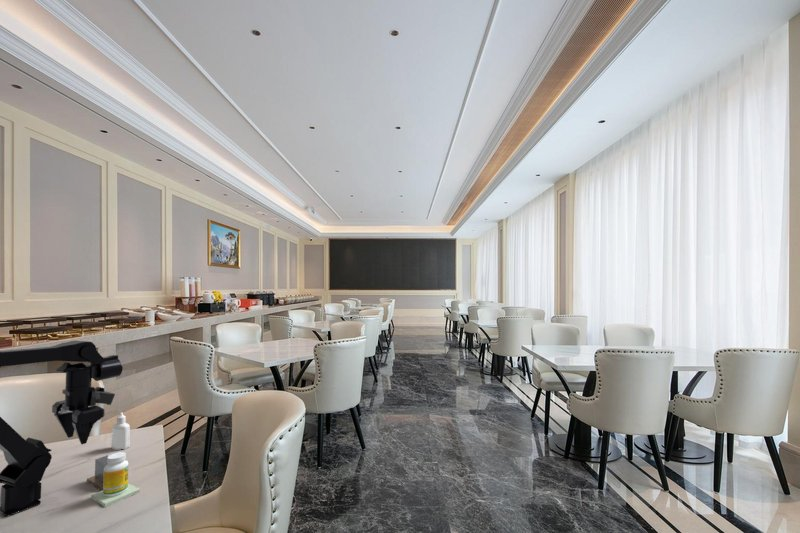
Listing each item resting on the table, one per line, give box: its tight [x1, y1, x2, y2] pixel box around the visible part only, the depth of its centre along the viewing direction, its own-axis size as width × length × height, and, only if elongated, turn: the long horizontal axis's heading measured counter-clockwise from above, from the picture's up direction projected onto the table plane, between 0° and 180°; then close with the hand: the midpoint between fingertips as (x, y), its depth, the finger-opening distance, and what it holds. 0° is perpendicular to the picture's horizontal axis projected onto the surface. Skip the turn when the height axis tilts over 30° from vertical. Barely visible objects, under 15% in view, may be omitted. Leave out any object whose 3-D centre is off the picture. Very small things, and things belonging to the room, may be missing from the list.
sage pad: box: [90, 482, 141, 508], centre depth 102 cm, size 8×8×1 cm
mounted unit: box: [86, 454, 109, 491], centre depth 109 cm, size 6×10×6 cm, turn 59°
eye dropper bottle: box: [111, 411, 131, 451], centre depth 132 cm, size 4×6×12 cm
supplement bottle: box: [103, 451, 130, 497], centre depth 102 cm, size 5×5×10 cm
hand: (76, 440), depth 108 cm, fingers open, 9 cm apart
